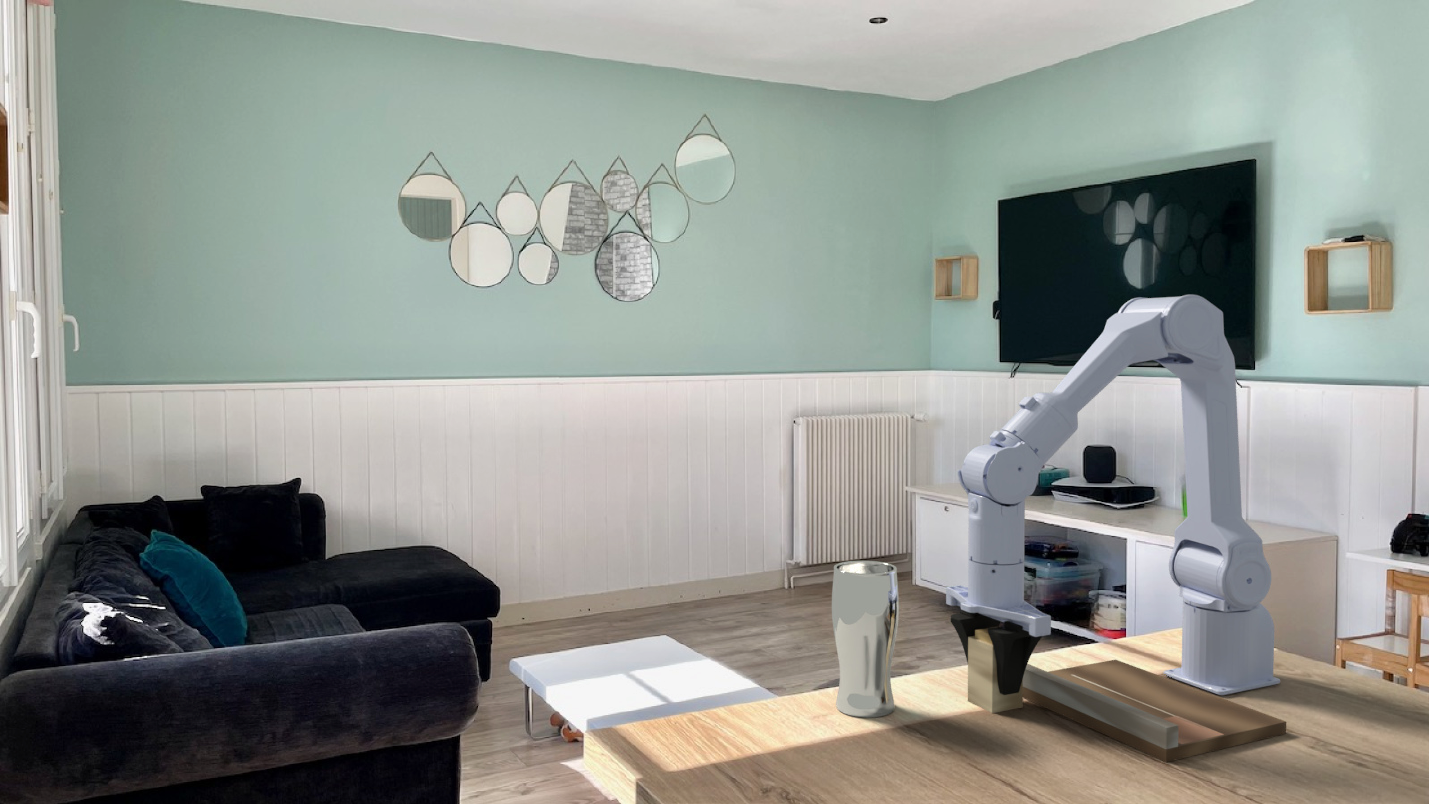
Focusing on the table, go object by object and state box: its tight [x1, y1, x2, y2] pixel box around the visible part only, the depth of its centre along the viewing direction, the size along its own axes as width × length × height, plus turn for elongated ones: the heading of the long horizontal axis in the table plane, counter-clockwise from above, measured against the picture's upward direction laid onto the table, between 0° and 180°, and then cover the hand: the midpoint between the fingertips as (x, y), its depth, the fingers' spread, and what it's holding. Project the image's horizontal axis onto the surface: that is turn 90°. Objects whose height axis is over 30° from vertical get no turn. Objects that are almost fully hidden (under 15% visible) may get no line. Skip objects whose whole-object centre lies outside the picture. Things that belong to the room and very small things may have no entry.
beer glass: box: [831, 560, 900, 719], centre depth 111 cm, size 7×7×15 cm
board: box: [1023, 659, 1287, 763], centre depth 110 cm, size 16×22×3 cm
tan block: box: [967, 627, 1024, 714], centre depth 112 cm, size 4×4×8 cm
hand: (995, 686), depth 112 cm, fingers open, 4 cm apart
